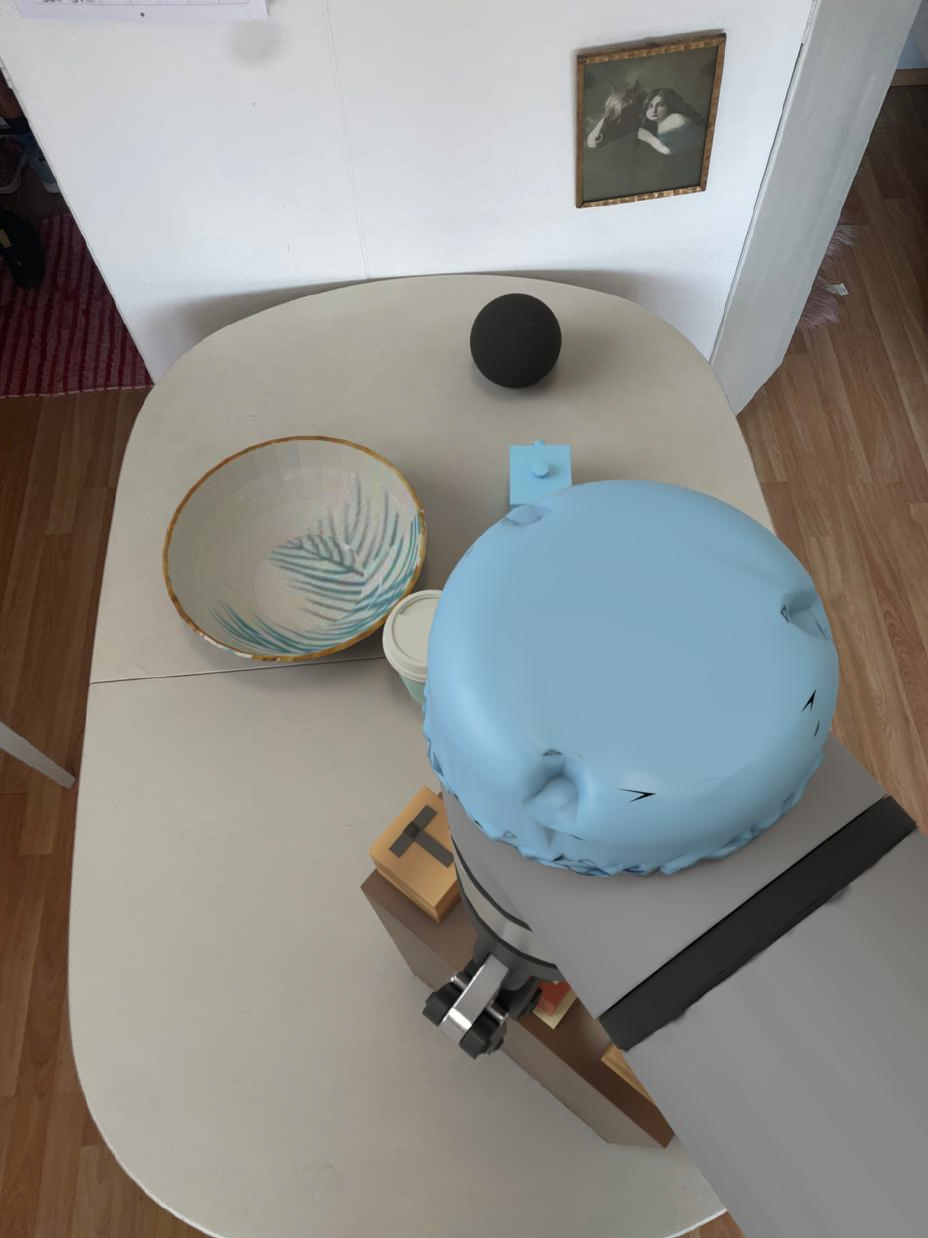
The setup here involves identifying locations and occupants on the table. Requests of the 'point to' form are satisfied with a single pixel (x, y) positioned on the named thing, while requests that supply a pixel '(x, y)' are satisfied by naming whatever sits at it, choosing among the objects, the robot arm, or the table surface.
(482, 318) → the black ball
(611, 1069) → the word stand
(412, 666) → the coffee cup
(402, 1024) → the table surface
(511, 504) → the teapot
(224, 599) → the bowl
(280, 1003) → the table surface
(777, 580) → the robot arm
